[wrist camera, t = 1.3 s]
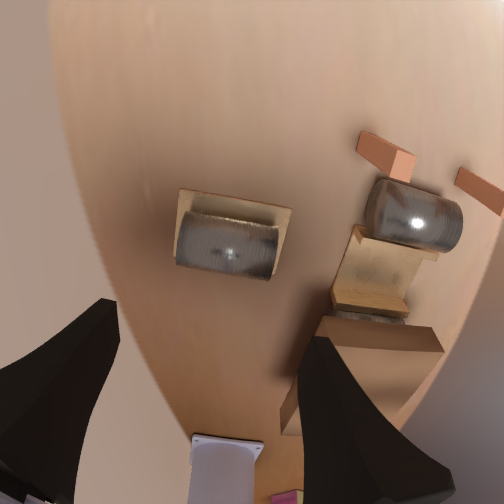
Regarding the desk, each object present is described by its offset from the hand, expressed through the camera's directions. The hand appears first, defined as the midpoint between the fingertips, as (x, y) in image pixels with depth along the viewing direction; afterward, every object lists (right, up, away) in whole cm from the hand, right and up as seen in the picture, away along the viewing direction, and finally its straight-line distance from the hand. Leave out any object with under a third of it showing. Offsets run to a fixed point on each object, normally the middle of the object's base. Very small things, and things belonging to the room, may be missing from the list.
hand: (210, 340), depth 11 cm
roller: (0, +4, +8) cm, 9 cm away
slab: (+8, -5, +9) cm, 14 cm away
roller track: (+4, 0, +10) cm, 11 cm away
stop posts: (+11, +9, +5) cm, 15 cm away
